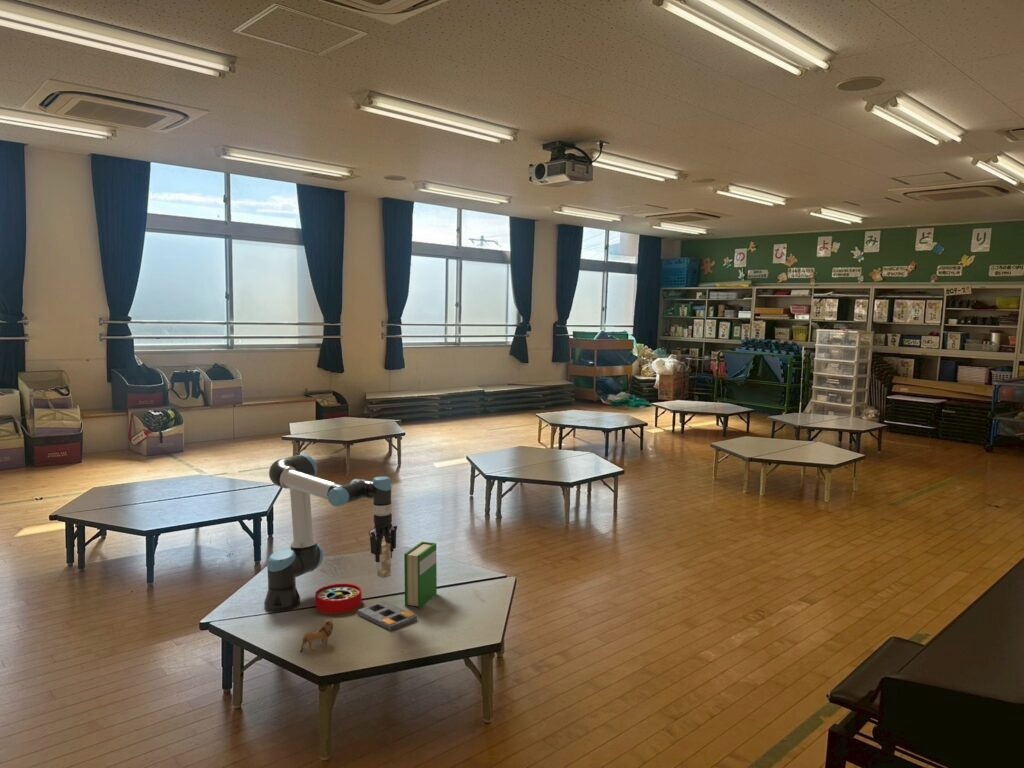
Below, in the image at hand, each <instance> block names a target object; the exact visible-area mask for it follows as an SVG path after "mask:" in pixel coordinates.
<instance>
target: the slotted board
mask: <svg viewBox="0 0 1024 768" xmlns="http://www.w3.org/2000/svg"><path fill="white" fill-rule="evenodd" d="M356 614H357V615H358V616H359V617H362V618H363V619H366V620H368V621H370V622H371V623H374V624H376V625H377V626H380V627H381V628H383V629H386V630H387V631H390V632H391V631H394V630H396V629H399V628H401V627H404V626H407V625H409V624H412V623H414V622H417V621H418V615H416V614H414V613H412V612H410V611H408V610H405V609H403V608H402V607H399V606H397V605H395V604H392V603H390V602H389V601H386V600H381V601H380V602H376V603H374V604H370V605H368V606H365V607H362V608H360V609H357V613H356ZM386 615H387V616H386ZM397 620H399V621H397Z"/></svg>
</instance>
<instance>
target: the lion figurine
mask: <svg viewBox="0 0 1024 768" xmlns="http://www.w3.org/2000/svg"><path fill="white" fill-rule="evenodd" d="M333 630H334V622H333V620H331V619H327V620H325V621H324V622H323V624H322V626H321V628H320V629H319V630H317V631H309V632H307V633H305V634H304V636H303V638H302V641H301V647H300V651H299V653H302V652H303V651H304V650H305V645H306V644H308V646H307V647H308V649H309V650H310V651H311V652H314V651H315V648H313V647H312V645H313V641H314V642H318V641H320V644H321V645H324V646H325V647H329V643H328V641H329V639H328V638H329V637H331V635H332V633H333Z"/></svg>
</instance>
